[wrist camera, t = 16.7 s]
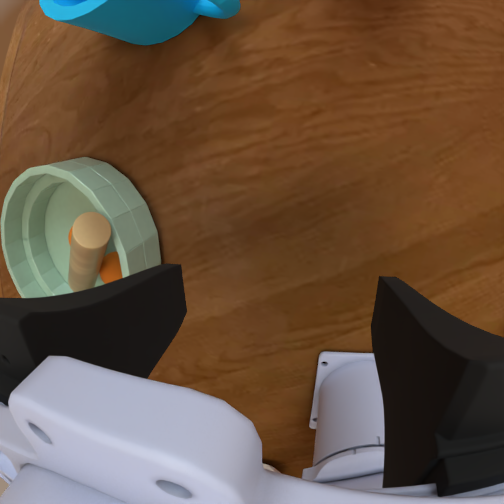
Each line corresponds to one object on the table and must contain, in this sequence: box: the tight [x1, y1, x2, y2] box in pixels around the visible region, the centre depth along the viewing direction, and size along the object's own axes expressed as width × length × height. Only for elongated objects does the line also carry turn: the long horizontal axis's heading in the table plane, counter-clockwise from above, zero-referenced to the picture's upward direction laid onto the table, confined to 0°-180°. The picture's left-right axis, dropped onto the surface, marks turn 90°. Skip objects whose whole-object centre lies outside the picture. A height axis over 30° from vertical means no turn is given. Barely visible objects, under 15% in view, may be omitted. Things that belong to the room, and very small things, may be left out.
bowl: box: [1, 157, 161, 298], centre depth 23 cm, size 14×14×5 cm
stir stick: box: [68, 212, 111, 292], centre depth 20 cm, size 2×2×9 cm
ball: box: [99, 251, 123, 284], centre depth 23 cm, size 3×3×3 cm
